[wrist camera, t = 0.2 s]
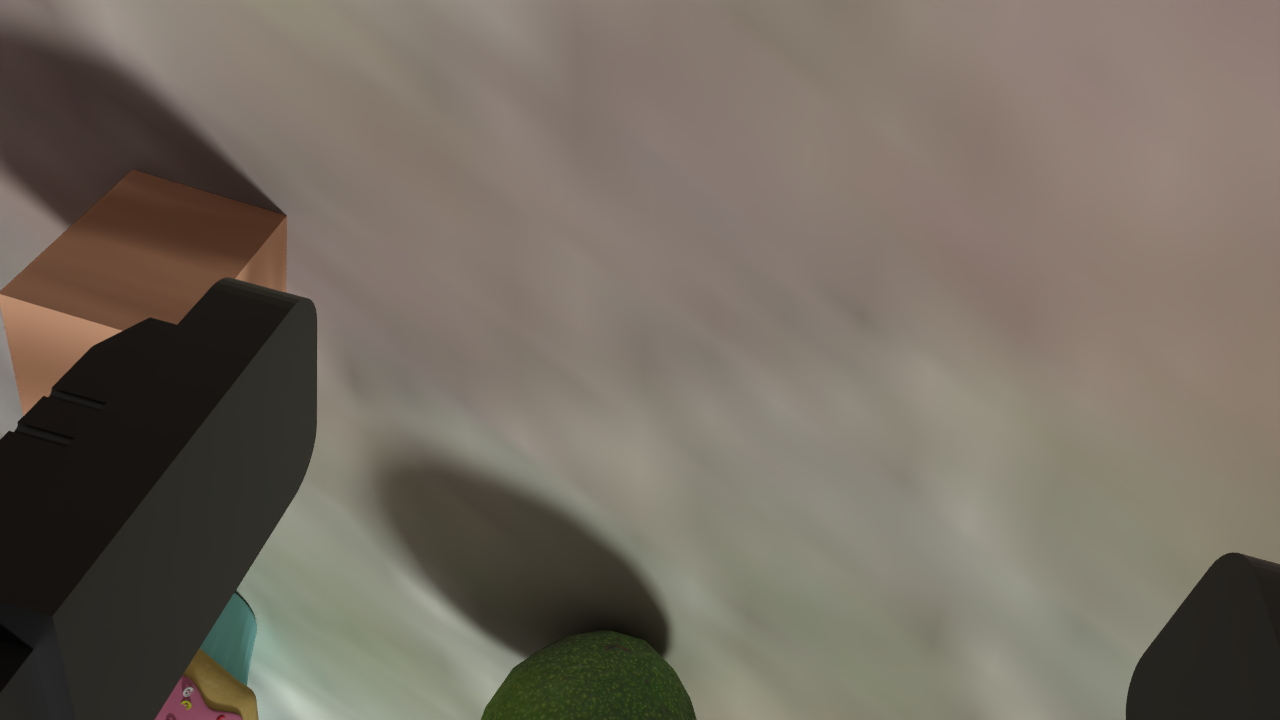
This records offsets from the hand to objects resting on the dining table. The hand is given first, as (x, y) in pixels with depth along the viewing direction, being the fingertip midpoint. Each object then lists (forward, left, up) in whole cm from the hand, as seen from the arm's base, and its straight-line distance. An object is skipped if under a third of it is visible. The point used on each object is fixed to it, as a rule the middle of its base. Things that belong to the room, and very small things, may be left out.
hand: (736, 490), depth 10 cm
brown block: (+15, -14, -17) cm, 27 cm away
